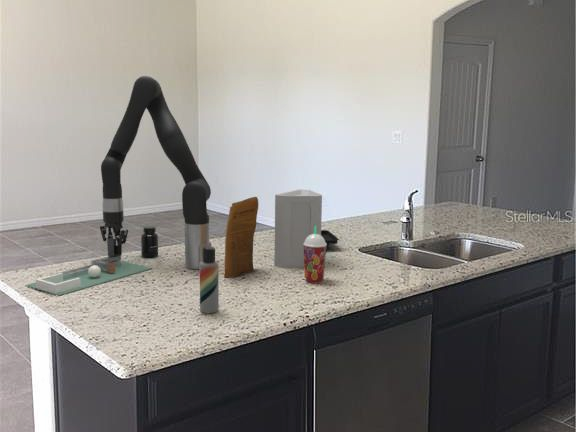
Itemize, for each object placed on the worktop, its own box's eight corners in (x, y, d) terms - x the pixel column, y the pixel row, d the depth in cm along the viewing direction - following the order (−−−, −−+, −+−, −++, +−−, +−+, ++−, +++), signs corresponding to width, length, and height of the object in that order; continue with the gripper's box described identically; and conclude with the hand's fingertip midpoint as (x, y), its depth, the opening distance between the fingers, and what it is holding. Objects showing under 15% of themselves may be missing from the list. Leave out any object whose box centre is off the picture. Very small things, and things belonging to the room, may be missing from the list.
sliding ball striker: (136, 266, 235) (135, 240, 233) (111, 273, 226) (110, 246, 224) (116, 261, 242) (115, 236, 240) (90, 268, 232) (89, 242, 230)
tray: (268, 245, 275) (268, 234, 274) (297, 236, 294) (297, 225, 293) (327, 256, 259) (327, 244, 258) (353, 245, 278) (353, 234, 277)
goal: (80, 286, 211) (80, 278, 210) (55, 293, 203) (55, 285, 202) (61, 281, 217) (61, 272, 216) (36, 288, 209) (35, 279, 208)
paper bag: (306, 272, 234) (307, 198, 229) (273, 266, 242) (274, 194, 236) (330, 261, 250) (332, 192, 244) (299, 256, 257) (300, 189, 252)
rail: (121, 264, 239) (120, 260, 238) (57, 281, 216) (57, 277, 216) (113, 262, 241) (113, 258, 241) (50, 279, 218) (49, 275, 218)
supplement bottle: (154, 258, 250) (153, 229, 248) (138, 257, 251) (137, 228, 249) (161, 254, 257) (160, 226, 254) (145, 253, 258) (144, 225, 256)
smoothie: (328, 279, 226) (329, 225, 222) (322, 285, 218) (323, 229, 214) (306, 276, 228) (307, 223, 224) (299, 282, 220) (300, 227, 217)
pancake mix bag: (263, 269, 237) (264, 196, 232) (231, 280, 222) (230, 203, 217) (250, 266, 241) (250, 194, 236) (217, 277, 226) (216, 201, 220)
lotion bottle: (200, 307, 193) (199, 244, 189) (218, 307, 194) (218, 244, 190) (199, 313, 188) (198, 249, 184) (218, 313, 188) (218, 249, 184)
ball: (103, 277, 222) (103, 265, 222) (93, 279, 219) (93, 267, 218) (95, 274, 225) (95, 263, 224) (85, 277, 221) (85, 265, 220)
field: (152, 268, 235) (152, 267, 235) (58, 296, 202) (58, 295, 202) (120, 261, 245) (120, 260, 245) (25, 286, 212) (25, 285, 212)
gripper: (133, 210, 234) (134, 254, 238) (108, 206, 242) (110, 249, 245) (117, 213, 228) (119, 258, 231) (92, 208, 236) (94, 252, 239)
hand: (114, 253), depth 238 cm, fingers open, 3 cm apart
